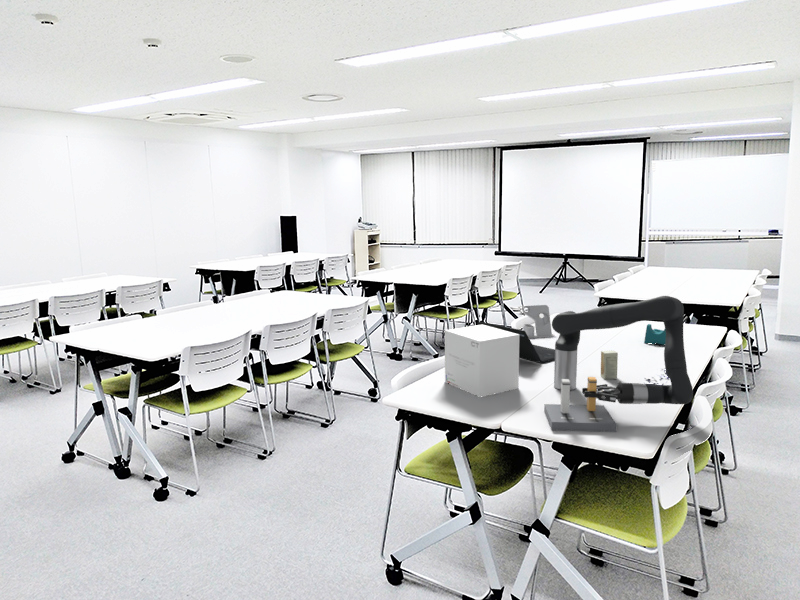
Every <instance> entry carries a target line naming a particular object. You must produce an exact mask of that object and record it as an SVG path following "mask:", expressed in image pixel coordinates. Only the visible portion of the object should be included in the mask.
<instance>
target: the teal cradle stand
mask: <svg viewBox="0 0 800 600" xmlns="http://www.w3.org/2000/svg"><path fill="white" fill-rule="evenodd" d="M644 336H645V337H644V341H643V343H644V344H646V343H652V344H655V343H656V344H659V345H663V346H665V342H666V330H665V328H664V330H663V329H657V328H652V324H650V323H648V324H647V325H646V328H645V334H644ZM656 344H655V345H656Z"/></svg>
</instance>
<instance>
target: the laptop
mask: <svg viewBox="0 0 800 600" xmlns="http://www.w3.org/2000/svg"><path fill="white" fill-rule="evenodd" d="M476 324H477V325H482V324H483V325H486V326H490V327H494V328H497V329H501V330H505V331H508V332H512V333H516V334H519V359H525V360H529V361H532V362H536V363H539V364H542V363H546V362H551V361H555V348H554V349H553V348H550V347H546V346H540V345H536V344H533V343H532V341H531V338H529V337H528V336H527V334H526V332H525V331H524V330H522V329H518V328H514V327H508V326H505V325H504V326H503V325H500V324H499V325H498V324H493V323H489V322H485V321H484V322H483V321H480V320H479V321H478V320H477V323H476Z"/></svg>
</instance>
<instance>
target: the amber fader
mask: <svg viewBox="0 0 800 600" xmlns="http://www.w3.org/2000/svg"><path fill="white" fill-rule="evenodd" d="M597 383H598V381H597V378H596V377H595V376H587V385H586V388H587V391H595V392H596V386H597ZM596 403H597V398H592V397H586V405H587V409H588V411H595V409H596V405H597V404H596Z"/></svg>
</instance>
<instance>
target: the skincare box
mask: <svg viewBox="0 0 800 600" xmlns="http://www.w3.org/2000/svg"><path fill="white" fill-rule="evenodd" d="M618 355H619V354H618V352H617V351H616V350H601V351H600V378H602V379H603V380H611V379H618V360H619V359H618V357H619V356H618Z"/></svg>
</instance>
